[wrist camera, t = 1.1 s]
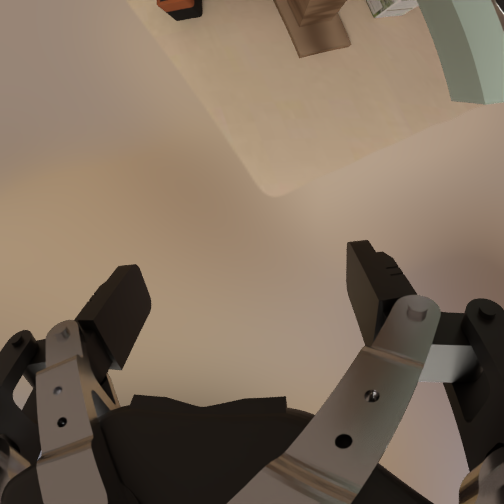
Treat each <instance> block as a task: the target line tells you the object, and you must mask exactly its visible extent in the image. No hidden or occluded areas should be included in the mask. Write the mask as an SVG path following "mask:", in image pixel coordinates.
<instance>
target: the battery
mask: <svg viewBox="0 0 504 504" xmlns="http://www.w3.org/2000/svg"><path fill="white" fill-rule="evenodd" d="M157 5H158V6H159V7H160V8H161V9H163V10H164V11H165V12H166V13H168V14H169V15H170V16H171V17H173V18H174V19H175V20H177V21H179V20H185V19H190V18H196V17H201V16H202V0H157Z"/></svg>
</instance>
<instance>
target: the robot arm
mask: <svg viewBox="0 0 504 504" xmlns="http://www.w3.org/2000/svg"><path fill="white" fill-rule="evenodd" d="M491 1H492V4H493V6H494V8H495V11H496V13H497V16H498V18H499V21H500V23H501V26H502V29H503V32H504V0H491ZM346 273H347V274H346V282H347V291H348V296H349V298H350V301H351V304H352V307H353V310H354V313H355V316H356V318H357V321H358V325H359V327H360V331H361V333H362V337H363V340H364V343H365V346H364V347H363V348H362V349H361V351H360V352H359V354H358V355H357V357H356V358H355V360H354V361H353V363H352V364H351V366H350V367H349V369H348V370H347V372H346V373H345V375H344V376H343V378H342V379H341V381H340V382H339V383H338V385H337V386H336V388H335V389H334V391H333V392H332V393H331V395H330V396H329V398H328V399H327V400H326V402H325V403H324V404H323V406H322V407H321V408H320V410H319V411H318V412H317V413H316V415H314V414H311V413H308V412H305V411H301V410H297V409H292V408H287V402H286V397H285V396H284V397H270V398H248V399H241V400H236V401H232V402H227V403H222V404H218V405H213V406H207V407H198V406H194V405H191V404H187V403H184V402H181V401H177V400H174V399H170V398H167V397H155V396H144V395H134V396H133V398H132V401H131V404H130V405H128V406H124V407H121V406H120V404H119V401H118V398H117V395H116V393H115V390H114V387H113V384H112V381H111V378H110V376H109V375H108V373H107V372H108V370H109V369H115V370H122V368H123V366H124V364H125V362H126V360H127V358H128V356H129V354H130V352H131V350H132V348H133V345H134V343H135V341H136V339H137V337H138V335H139V333H140V331H141V329H142V327H143V325H144V323H145V321H146V319H147V317H148V315H149V313H150V310H151V298H150V295H149V292H148V290H147V287H146V284H145V282H144V279H143V276H142V273H141V271H140V268H139V267H138V266H137V265H136V264H134V265H124V266H118V267H117V268H116V270H115V271H114V272H113V273H112V275H111V276H110V277H109V279H108V280H107V281H106V282H105V283H103V284H102V285H101V286H100V287H99V288H98V289H97V291H96V292H95V293H94V295H93V296H92V297H91V298H90V300H89V302H87V304H86V305H85V306H84V308H83V309H82V310H81V312H80V313H79V314H78V316H77V317H76V318H75V320H66V321H63V322H60V323H58V324H57V325H55V326H54V327H53V328H52V329H51V330H50V331H49V332H48V334H47V336H46V339H43V340H38V341H36V340H35V338H34V337H33V335H32V334H31V332H30V331H28V330H23V331H20V332H18V333H16V334H15V335H13V336H12V337H11V338H10V339H9V340H8V342H7V343H6V344H5V346H4V347H3V349H2V350H1V352H0V504H433V503H432V502H431V501H429V500H428V499H426V498H425V497H423V496H422V495H421V494H419V493H418V492H416V491H415V490H414V489H412V488H411V487H409V486H408V485H407V484H405V483H404V482H402V481H401V480H400V479H399V478H397V477H396V476H395V475H393V474H392V473H391V472H389V471H388V470H387V469H385V468H384V467H383V466H381V465H380V464H379V463H378V462H379V460H380V459H381V457H382V455H383V454H384V452H385V450H386V448H387V446H388V444H389V443H390V441H391V439H392V437H393V435H394V433H395V431H396V429H397V427H398V425H399V423H400V421H401V419H402V417H403V415H404V413H405V411H406V409H407V406H408V404H409V402H410V400H411V397H412V395H413V392H414V390H415V388H416V386H417V383H418V381H419V382H421V381H422V382H443V385H444V387H445V390H446V393H447V396H448V399H449V401H450V404H451V407H452V410H453V413H454V416H455V420H456V423H457V426H458V430H459V433H460V436H461V440H462V443H463V447H464V451H465V455H466V459H467V463H468V467H469V471H470V473H468V474H467V476H466V477H465V478H464V480H463V481H462V484H461V486H460V489H459V504H504V310H503V308H502V307H501V306H500V305H498V304H497V303H495V302H493V301H491V300H488V299H474V300H472V301H470V302H469V303H468V305H467V306H466V310H465V313H446V312H441V311H440V308H439V306H438V305H437V304H436V303H435V302H434V301H433V300H431V299H429V298H427V297H424V296H420V295H417V293H416V292H415V290H414V289H413V287H412V286H411V284H410V283H409V281H408V280H407V278H406V277H405V275H404V274H403V272H402V271H401V269H400V268H398V265H397V264H396V262H395V261H394V259H393V258H392V257H390V256H389V255H387V254H386V253H384V252H375V250H374V249H373V247H372V246H371V244H370V243H369V241H368V240H363V241H353V242H348V243H347V271H346ZM22 375H23V376H24V377H25V378H26V380H27V381H28V382H29V383H30V385H31V386H32V387H33V390H32V392H31V394H30V396H29V398H28V399H27V402H26V404H25V405H24V407H23V409H22V410H21V409H20V408H19V407H18V406H17V405H16V404H15V402H14V400H13V390H14V388H15V387H16V385H17V383H18V381H19V379H20V378H21V376H22ZM41 450H42V456H41V458H39V459H38V457H39V454H40V451H41ZM37 459H38V461H37Z"/></svg>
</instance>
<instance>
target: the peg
mask: <svg viewBox="0 0 504 504" xmlns="http://www.w3.org/2000/svg"><path fill="white" fill-rule="evenodd" d="M417 3H418V5H419V7H420V9H421V11H422V14H423V16H424V18H425V21H426V23H427V26H428V28H429V31H430V33H431V36H432V38H433V41H434V44H435V47H436V50H437V52H438V55H439V58H440V62H441V65H442V68H443V71H444V75H445V78H446V82H447V85H448V89H449V93H450V97H451V101H457V102H467V103H477V104H485V105H486V104H494V103H502V102H504V32H503V29H502V26H501V23H500V21H499V18H498V16H497V13H496V11H495V8H494V6H493V4H492V1H491V0H417Z"/></svg>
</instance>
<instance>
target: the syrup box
mask: <svg viewBox="0 0 504 504" xmlns="http://www.w3.org/2000/svg"><path fill="white" fill-rule="evenodd" d="M366 2H367V4H368V6H369V8H370V10H371V12H372V14H373V16H374V18H380V17H390V16H402V15H404V14H405V13H407V12H408V11H410V10H412V9H413V8H415V7H417V6H419V5H418V3H417V0H366Z"/></svg>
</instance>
